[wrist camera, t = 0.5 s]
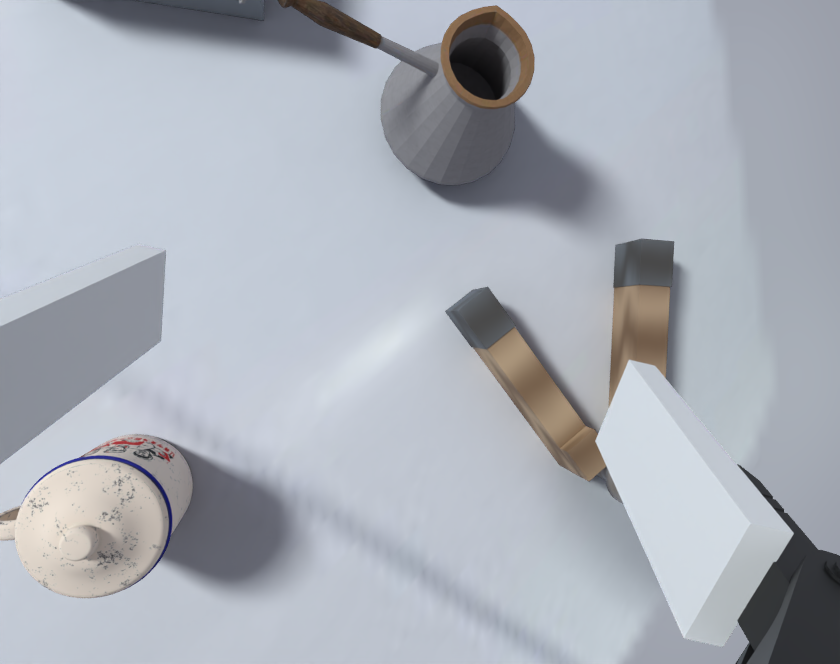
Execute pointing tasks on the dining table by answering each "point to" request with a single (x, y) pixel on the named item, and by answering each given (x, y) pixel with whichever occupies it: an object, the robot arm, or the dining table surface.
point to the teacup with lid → (101, 516)
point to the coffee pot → (447, 91)
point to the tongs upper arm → (529, 384)
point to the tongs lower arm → (640, 307)
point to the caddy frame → (219, 6)
